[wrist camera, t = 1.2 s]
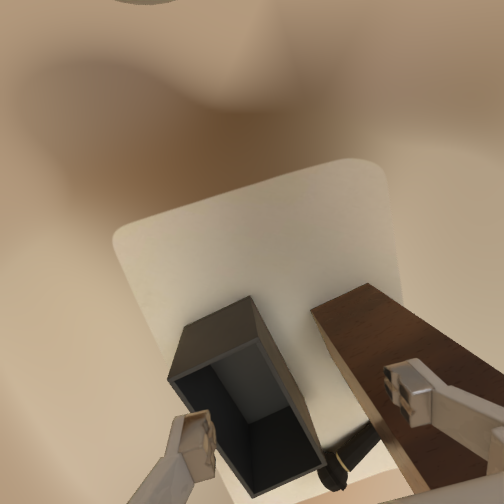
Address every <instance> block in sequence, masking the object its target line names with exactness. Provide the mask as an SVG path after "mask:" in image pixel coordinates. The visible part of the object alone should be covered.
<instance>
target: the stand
mask: <svg viewBox="0 0 504 504" xmlns="http://www.w3.org/2000/svg"><path fill="white" fill-rule="evenodd" d="M310 311H311V313H312V315H313V317H314V320H315V322H316V324H317V326H318V329H319V331H320V333H321V335H322V338H323V340H324V342H325V344H326V346H327V349H328V351H329V353H330V355H331V357H332V359H333V361H334V362H335V364H336V366H337V367H338V369H339V371H340V372H341V374H342V376H343V377H344V379H345V381H346V382H347V384H348V385H349V387H350V389H351V390H352V392H353V394H354V395H355V397H356V399H357V400H358V402H359V404H360V405H361V407H362V408H363V410H364V412H365V413H366V415H367V417H368V418H369V420H370V422H371V423H372V425H373V427H374V428H375V430H376V432H377V433H378V435H379V436H380V438H381V440H382V441H383V443H384V445H385V446H386V448H387V450H388V451H389V453H390V455H391V456H392V458H393V459H394V461H395V463H396V464H397V466H398V468H399V469H400V471H401V473H402V474H403V476H404V478H405V479H406V481H407V482H408V484H409V486H410V487H411V489H412V491H413V492H414V494H418V493H421V492H425V491H429V490H433V489H437V488H441V487H445V486H448V485H452V484H456V483H460V482H464V481H468V480H471V479H475V478H479V477H483V476H486V472H487V464H488V461H486V460H485V459H483V458H482V457H480V456H479V455H477V454H476V453H474V452H473V451H471V450H469V449H468V448H466V447H465V446H463V445H462V444H460V443H459V442H457V441H456V440H454V439H453V438H451V437H450V436H448V435H447V434H445V433H444V432H442V431H441V430H439V429H437V428H436V427H434V426H433V425H432V424H427V425H423V426H418V427H414V428H411V427H410V425H409V424H408V423H407V421H406V420H405V419H404V417H403V416H402V415H401V413H400V407H399V406H397V405H395V404H393V402H392V401H391V400H390V398H389V396H388V395H387V393H386V390H385V387H384V379H385V378H386V376H385V374H384V373H383V367H384V366H386V365H390V364H393V363H397V362H401V361H406V360H410V359H414V358H417V359H419V360H420V361H421V362H423V363H424V364H425V365H426V366H427V367H428V368H429V369H430V370H431V371H432V372H433V373H434V374H436V375H437V376H438V377H439V378H440V379H441V380H442V381H443V382H444V383H445V384H446V385H447V386H450V385H452V386H454V387H457V388H459V389H461V390H464V391H466V392H468V393H471V394H473V395H476V396H478V397H480V398H483V399H485V400H487V401H490V402H492V403H495V404H497V405H499V406H502V407H504V374H502V373H501V372H499V371H498V370H496V369H495V368H493V367H492V366H490V365H489V364H487V363H486V362H484V361H483V360H481V359H480V358H479V357H477V356H476V355H474V354H472V353H471V352H470V351H468V350H467V349H465V348H464V347H462V346H461V345H459V344H458V343H456V342H455V341H453V340H452V339H450V338H449V337H447V336H446V335H444V334H443V333H441V332H440V331H439V330H437V329H436V328H434V327H433V326H431V325H430V324H428V323H427V322H425V321H424V320H422V319H421V318H419V317H418V316H416V315H415V314H413V313H412V312H410V311H409V310H407V309H406V308H404V307H403V306H401V305H400V304H399V303H397V302H396V301H394V300H393V299H391V298H390V297H388V296H387V295H385V294H384V293H382V292H381V291H379V290H378V289H376V288H375V287H373V286H372V285H370V284H369V283H367V284H365V285H363V286H360V287H358V288H356V289H354V290H352V291H350V292H348V293H345V294H343V295H341V296H339V297H337V298H335V299H333V300H331V301H328V302H326V303H324V304H322V305H320V306H318V307H316V308H314V309H311V310H310Z"/></svg>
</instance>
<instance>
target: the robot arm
mask: <svg viewBox="0 0 504 504" xmlns="http://www.w3.org/2000/svg"><path fill="white" fill-rule="evenodd" d="M383 373H384V374H385V376H386V378H385V379H384V387H385V390H386V393H387V395H388V396H389V398H390V400H391V401H392V402H393V404H395V405H397V406H399V407H400V413H401V415H402V416H403V417H404V419H405V420H406V421H407V423H408V424H409V425H410V427H411V428H414V427H418V426H423V425H427V424H432V425H433V426H434V427H436V428H437V429H439V430H441V431H442V432H444V433H445V434H447V435H448V436H450V437H451V438H453V439H454V440H456V441H457V442H459V443H460V444H462V445H463V446H465V447H466V448H468V449H469V450H471V451H473V452H474V453H476V454H477V455H479V456H480V457H482V458H483V459H485V460H486V461H488V464H487V472H486V476H483V477H479V478H475V479H471V480H468V481H464V482H460V483H456V484H452V485H448V486H445V487H441V488H437V489H433V490H429V491H425V492H421V493H418V494H414V495H410V496H407V497H402V498H398V499H395V500H391V501H387V502H383V503H379V504H504V407H502V406H499V405H497V404H495V403H492V402H490V401H487V400H485V399H483V398H480V397H478V396H476V395H473V394H471V393H468V392H466V391H464V390H461V389H459V388H457V387H454V386H452V385H450V386H447V385H446V384H445V383H444V382H443V381H442V380H441V379H440V378H439V377H438V376H437V375H436V374H434V373H433V372H432V371H431V370H430V369H429V368H428V367H427V366H426V365H425V364H424V363H423V362H421V361H420V360H419V359H417V358H414V359H410V360H406V361H401V362H397V363H393V364H390V365H386V366H384V367H383ZM216 444H217V438H216V429H215V425H214V422H212V421H211V414H210V411H209V410H203V411H198V412H194V413H189V414H186V415H181V416H176V417H175V418H174V420H173V422H172V426H171V430H170V435H169V439H168V443H167V447H166V451H165V455H164V457H161V458H160V459H159V461H158V462H157V463H156V465H155V466H154V467H153V469H152V470H151V472H150V473H149V474H148V475H147V477H146V478H145V480H144V481H143V482H142V484H141V485H140V487H139V488H138V489H137V490H136V492H135V493H134V495H133V496H132V497H131V499H130V500H129V501H128V503H127V504H186V502H187V500H188V497H189V495H190V493H191V491H192V489H193V487H194V483H198V482H201V481H205V480H208V479H212V478H214V477H215V464H216V458H215V456H214V451H215V449H216Z"/></svg>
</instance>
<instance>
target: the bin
mask: <svg viewBox="0 0 504 504" xmlns="http://www.w3.org/2000/svg"><path fill="white" fill-rule="evenodd" d="M167 381H168V382H169V383H170V385H171V386H172V388H173V389H174V390H175V392H176V393H177V395H178V396H179V397H180V399H181V400H182V401H183V403H184V404H185V406H186V407H187V409H188V410H189V411H190V413H194V412H198V411H203V410H209V411H210V414H211V421H212V422H214V425H215V429H216V438H217V444H216V449H217V450H218V452H219V453H220V455H221V456H222V457H223V459H224V460H225V462H226V463H227V464H228V466H229V467H230V469H231V470H232V471H233V473H234V474H235V476H236V477H237V478H238V480H239V481H240V483H241V484H242V485H243V487H244V488H245V489H246V491H247V492H248V494H249V495H250V496H251V498H252V499H253V498H255V497H257V496H259V495H262V494H264V493H266V492H268V491H271V490H273V489H275V488H277V487H280V486H282V485H284V484H286V483H288V482H291V481H293V480H295V479H297V478H300V477H302V476H304V475H306V474H308V473H311V472H313V471H315V470H317V469H320V468H322V467H324V466H326V465H327V462H326V459H325V456H324V453H323V451H322V448H321V445H320V442H319V439H318V436H317V434H316V431H315V428H314V425H313V422H312V420H311V417H310V414H309V411H308V408H307V406H306V403H305V400H304V398H303V396H302V394H301V392H300V390H299V388H298V386H297V384H296V382H295V380H294V378H293V377H292V375H291V373H290V371H289V369H288V367H287V365H286V363H285V361H284V359H283V357H282V355H281V354H280V352H279V350H278V348H277V346H276V344H275V342H274V340H273V338H272V336H271V334H270V332H269V331H268V329H267V327H266V325H265V323H264V321H263V319H262V317H261V315H260V313H259V311H258V310H257V308H256V306H255V304H254V302H253V300H252V298H251V296H248V297H246V298H244V299H242V300H240V301H237V302H235V303H233V304H231V305H229V306H227V307H225V308H223V309H221V310H219V311H216V312H214V313H212V314H210V315H208V316H206V317H204V318H202V319H200V320H197V321H195V322H193V323H191V324H189V325H187V326H185V327H184V329H183V332H182V335H181V338H180V341H179V344H178V347H177V350H176V353H175V356H174V359H173V362H172V366H171V369H170V372H169V375H168V378H167Z"/></svg>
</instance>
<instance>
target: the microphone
mask: <svg viewBox="0 0 504 504" xmlns="http://www.w3.org/2000/svg"><path fill="white" fill-rule="evenodd" d="M380 440H381V438H380V436H379V435H378V433H377V432H376V430H375V428H374V427H373V425H372V423H371V424H369V425H368V426H367V427H366V428H364V429H363V430H362V431H361V432H359V433H358V434H357V435H356V436H354V437H353V438H352V439H351V440H349V441H348V442H347V443H346V444H344V445H343V446H342V447H341V448H339V449H338V450H337V451H336V454H334V453H331V452H330V453H326V452H324V456H325V459H326V462H327V465H326V466H324V467H322V468H320V469H317V472H318V476H319V478H320V480H321V482H322V483H323V485H324V486H325V487H326V488H327V489H329V490H331V491H332V492H335V491H338V490H340V489H341V490H344V489H345V488H346V486H347V483H346V481H347V478H348V473H347V471H348V472H351V471H352V470H353V469H354V468H355V466H356V465H357V464H358V463H359V462H360V461H361V460H362V459H363V458H364V457H365V456H366V455H367V454H368V452H369V451H370V450H371V449H372V448H373V447H374V446H375V445H376V444H377V443H378V442H379V441H380Z"/></svg>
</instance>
